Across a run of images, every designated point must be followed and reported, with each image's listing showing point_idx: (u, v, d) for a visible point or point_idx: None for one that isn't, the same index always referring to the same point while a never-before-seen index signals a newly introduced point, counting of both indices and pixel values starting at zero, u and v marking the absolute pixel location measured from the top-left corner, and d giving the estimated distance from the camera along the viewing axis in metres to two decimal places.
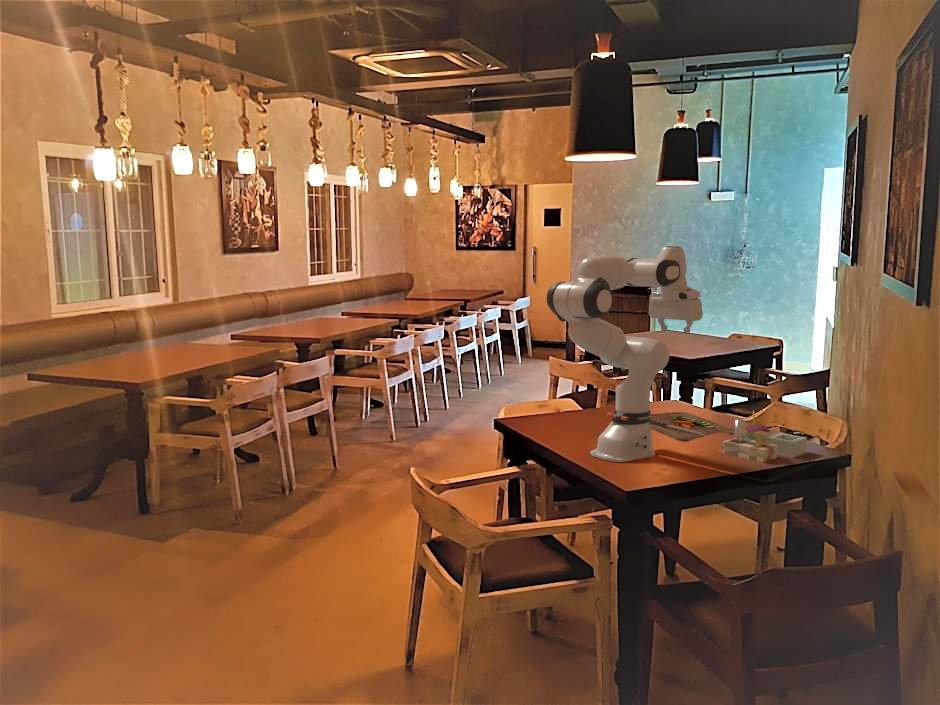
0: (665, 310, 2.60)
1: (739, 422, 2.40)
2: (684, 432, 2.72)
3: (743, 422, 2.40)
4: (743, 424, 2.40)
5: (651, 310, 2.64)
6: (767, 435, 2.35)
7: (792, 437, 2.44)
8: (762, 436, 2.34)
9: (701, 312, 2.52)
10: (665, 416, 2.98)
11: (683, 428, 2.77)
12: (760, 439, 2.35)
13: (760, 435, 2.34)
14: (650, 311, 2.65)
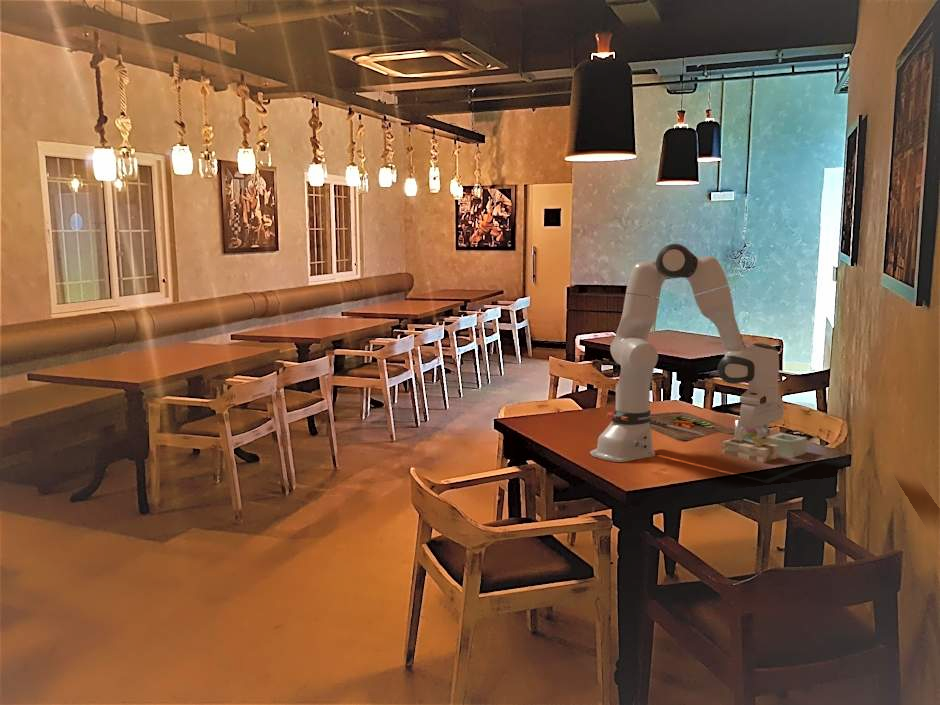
0: None
1: (739, 422, 2.40)
2: (684, 432, 2.72)
3: None
4: None
5: None
6: (767, 440, 2.35)
7: (792, 437, 2.44)
8: (762, 441, 2.34)
9: (749, 420, 2.28)
10: (665, 416, 2.99)
11: (683, 428, 2.77)
12: (760, 444, 2.35)
13: (760, 440, 2.35)
14: None
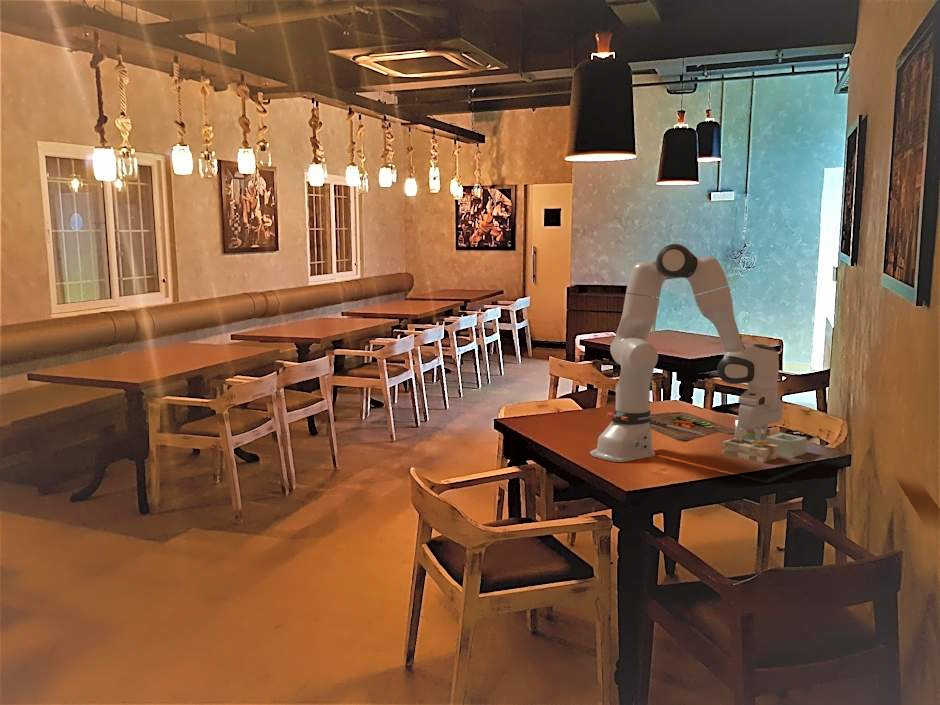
0: None
1: None
2: (684, 432, 2.72)
3: None
4: None
5: None
6: (767, 443, 2.36)
7: (792, 437, 2.44)
8: (762, 444, 2.34)
9: (747, 421, 2.28)
10: (665, 416, 2.99)
11: (683, 428, 2.77)
12: None
13: (760, 443, 2.35)
14: None
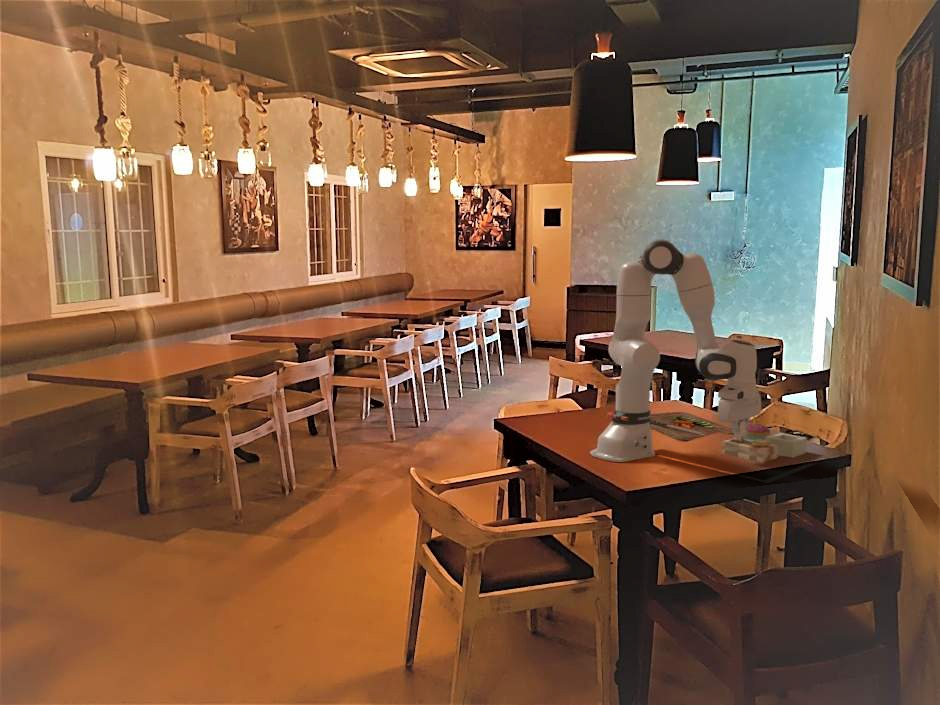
0: None
1: (739, 422, 2.40)
2: (684, 432, 2.72)
3: (743, 422, 2.40)
4: (743, 424, 2.40)
5: None
6: (767, 443, 2.36)
7: (792, 437, 2.44)
8: (762, 444, 2.34)
9: (726, 415, 2.34)
10: (665, 416, 2.99)
11: (683, 428, 2.77)
12: None
13: (760, 443, 2.35)
14: None
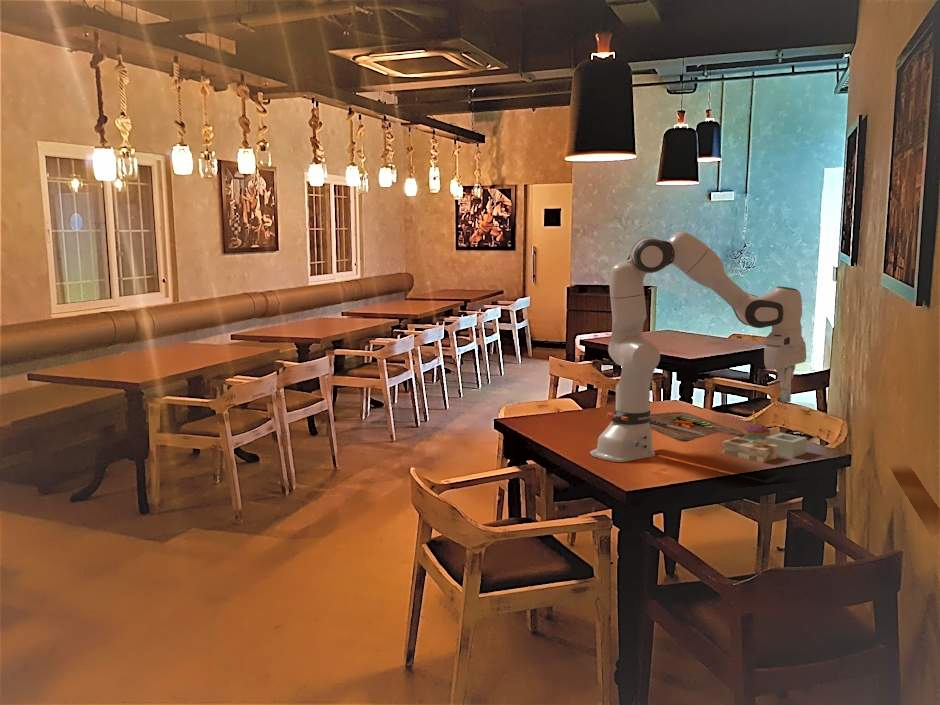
0: None
1: (785, 369, 2.38)
2: (684, 432, 2.72)
3: (789, 369, 2.38)
4: (789, 371, 2.38)
5: None
6: (767, 443, 2.36)
7: (792, 437, 2.44)
8: (762, 444, 2.34)
9: (773, 361, 2.32)
10: (665, 416, 2.99)
11: (683, 428, 2.77)
12: None
13: (760, 443, 2.35)
14: None
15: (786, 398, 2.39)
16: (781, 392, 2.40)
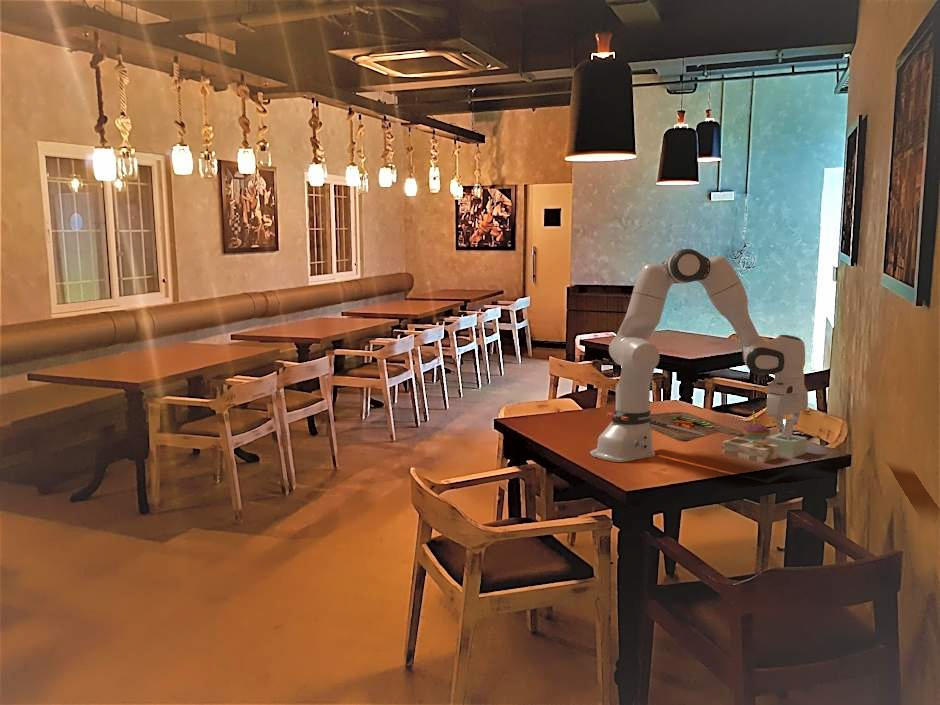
0: None
1: (787, 421, 2.40)
2: (684, 432, 2.72)
3: (791, 421, 2.40)
4: (791, 423, 2.40)
5: None
6: (767, 443, 2.36)
7: (792, 437, 2.44)
8: (762, 444, 2.34)
9: (775, 410, 2.34)
10: (665, 416, 2.99)
11: (683, 428, 2.77)
12: None
13: (760, 443, 2.35)
14: None
15: None
16: None
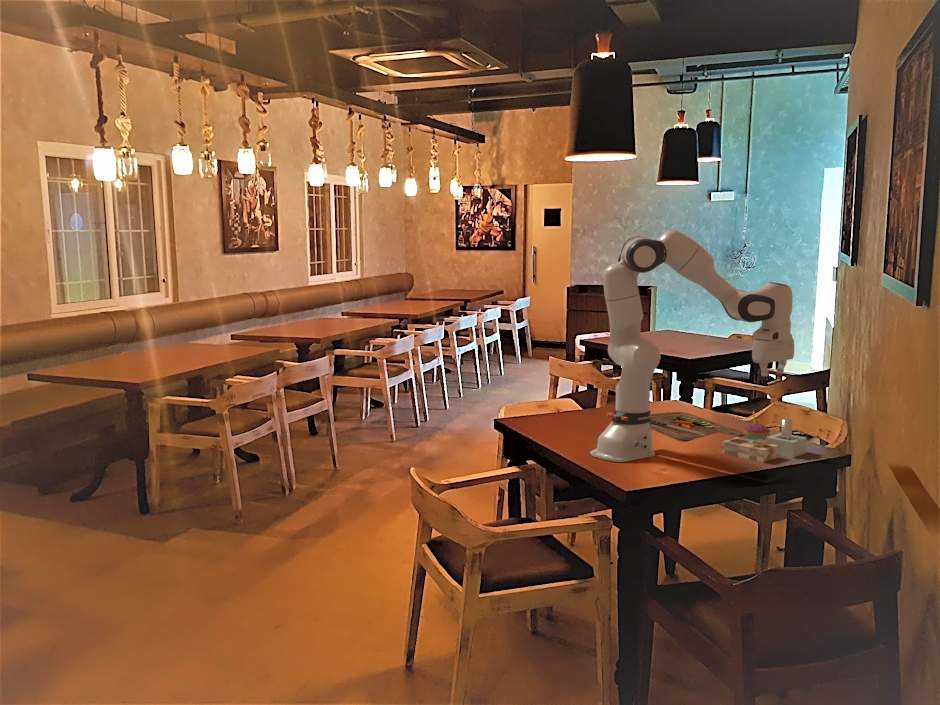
0: None
1: (786, 421, 2.40)
2: (684, 432, 2.72)
3: (790, 421, 2.40)
4: (790, 423, 2.40)
5: None
6: (767, 443, 2.36)
7: (792, 437, 2.44)
8: (762, 444, 2.34)
9: (760, 355, 2.34)
10: (665, 416, 2.99)
11: (683, 428, 2.77)
12: None
13: (760, 443, 2.35)
14: None
15: None
16: None
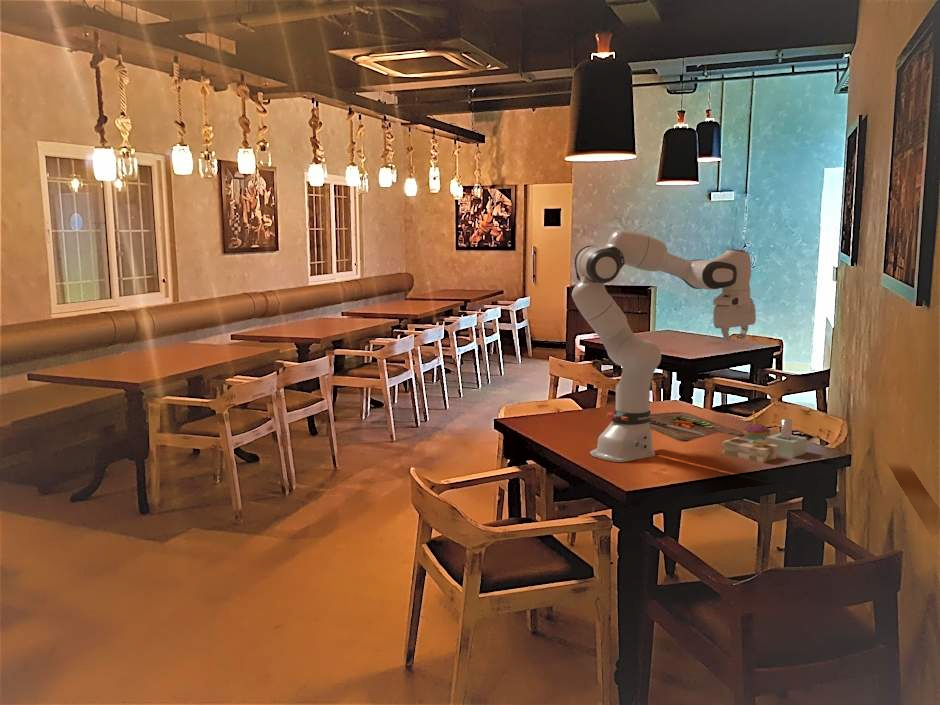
0: None
1: (786, 421, 2.40)
2: (684, 432, 2.72)
3: (790, 421, 2.40)
4: (790, 423, 2.40)
5: None
6: (767, 443, 2.36)
7: (792, 437, 2.44)
8: (762, 444, 2.34)
9: (721, 320, 2.40)
10: (665, 416, 2.99)
11: (683, 428, 2.77)
12: None
13: (760, 443, 2.35)
14: None
15: None
16: None
